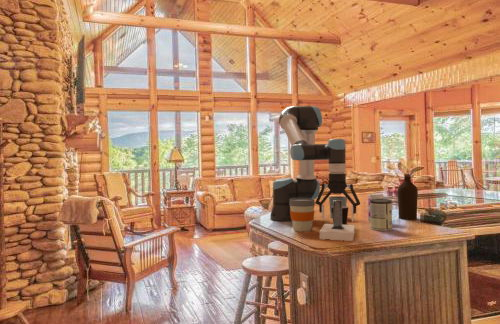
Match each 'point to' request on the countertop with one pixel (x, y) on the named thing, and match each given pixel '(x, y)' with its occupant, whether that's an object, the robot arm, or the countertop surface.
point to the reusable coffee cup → (302, 213)
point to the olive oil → (407, 199)
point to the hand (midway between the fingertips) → (337, 220)
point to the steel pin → (337, 214)
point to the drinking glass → (344, 199)
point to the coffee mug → (343, 214)
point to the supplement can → (370, 197)
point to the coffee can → (381, 214)
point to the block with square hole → (337, 232)
